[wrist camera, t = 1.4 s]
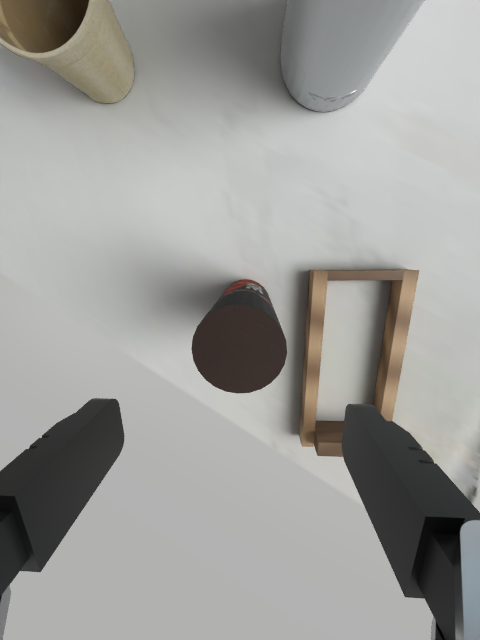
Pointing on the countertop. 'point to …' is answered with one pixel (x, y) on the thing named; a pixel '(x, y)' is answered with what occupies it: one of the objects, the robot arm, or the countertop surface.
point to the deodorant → (240, 340)
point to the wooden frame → (394, 341)
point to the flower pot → (72, 43)
